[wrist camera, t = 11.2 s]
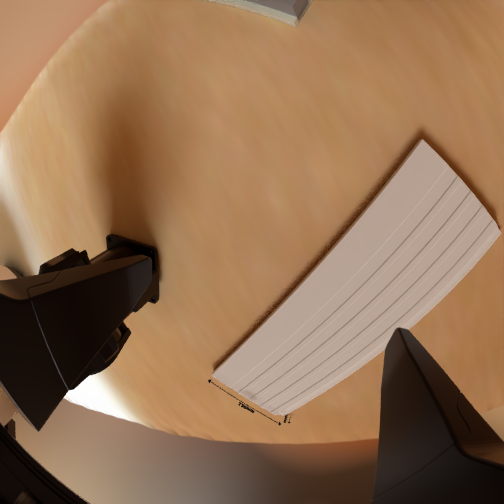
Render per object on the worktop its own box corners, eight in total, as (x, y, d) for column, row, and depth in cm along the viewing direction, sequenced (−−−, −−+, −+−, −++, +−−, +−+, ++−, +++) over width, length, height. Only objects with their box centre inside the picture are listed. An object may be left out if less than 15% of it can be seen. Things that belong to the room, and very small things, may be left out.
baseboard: (504, 240, 17) (416, 138, 17) (519, 253, 14) (428, 139, 14) (293, 416, 32) (215, 367, 32) (288, 433, 29) (205, 383, 29)
